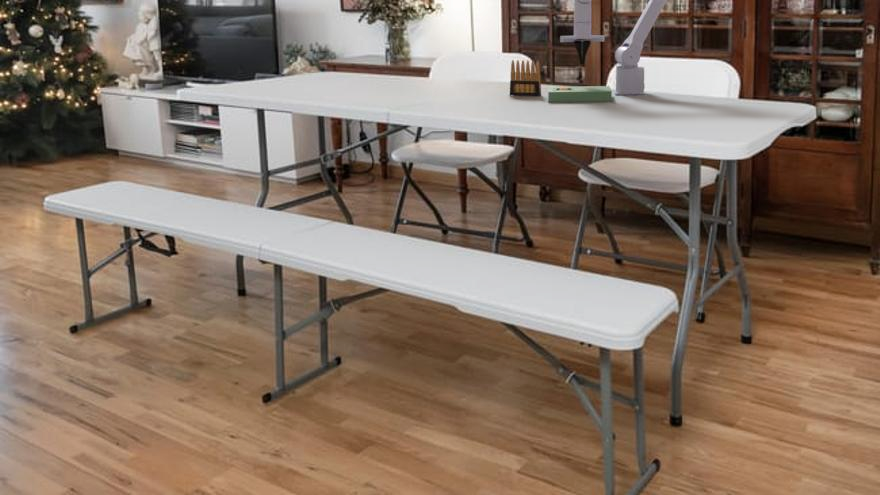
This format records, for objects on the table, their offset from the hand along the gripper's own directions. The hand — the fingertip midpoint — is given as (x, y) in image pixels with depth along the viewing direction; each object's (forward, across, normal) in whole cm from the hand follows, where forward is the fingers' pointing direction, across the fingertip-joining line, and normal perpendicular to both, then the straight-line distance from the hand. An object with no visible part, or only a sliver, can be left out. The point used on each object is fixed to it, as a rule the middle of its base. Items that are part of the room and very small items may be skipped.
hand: (581, 64), depth 332 cm
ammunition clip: (+11, +19, -1) cm, 22 cm away
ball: (+8, +6, +10) cm, 14 cm away
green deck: (+10, +1, +10) cm, 14 cm away
